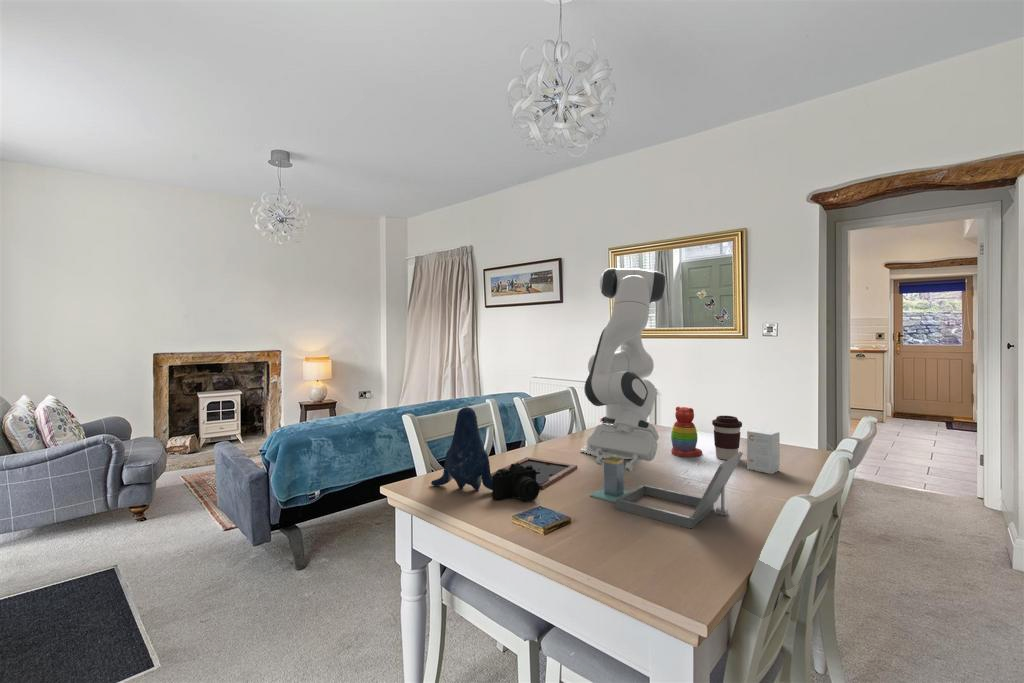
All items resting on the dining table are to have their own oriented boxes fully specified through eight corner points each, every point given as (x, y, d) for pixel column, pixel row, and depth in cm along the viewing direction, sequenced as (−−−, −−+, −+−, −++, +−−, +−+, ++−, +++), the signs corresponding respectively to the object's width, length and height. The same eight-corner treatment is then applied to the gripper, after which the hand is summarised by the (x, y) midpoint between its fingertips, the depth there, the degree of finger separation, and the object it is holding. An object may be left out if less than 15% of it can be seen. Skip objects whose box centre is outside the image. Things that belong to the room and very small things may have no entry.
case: (615, 508, 129) (615, 447, 128) (642, 492, 141) (642, 436, 140) (722, 537, 111) (722, 466, 110) (742, 516, 123) (743, 452, 123)
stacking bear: (704, 453, 183) (704, 406, 183) (693, 459, 176) (693, 410, 175) (676, 449, 191) (676, 403, 190) (665, 454, 183) (665, 407, 183)
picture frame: (542, 491, 144) (577, 470, 166) (542, 484, 144) (577, 464, 166) (487, 480, 155) (526, 462, 176) (487, 474, 155) (526, 456, 176)
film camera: (505, 508, 130) (505, 475, 130) (488, 497, 138) (488, 466, 138) (551, 497, 138) (551, 466, 137) (532, 488, 146) (532, 458, 146)
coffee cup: (746, 461, 172) (747, 419, 172) (718, 461, 172) (718, 419, 172) (734, 454, 182) (734, 414, 182) (707, 454, 182) (708, 414, 182)
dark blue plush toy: (421, 492, 143) (420, 408, 142) (438, 480, 154) (437, 402, 153) (500, 501, 135) (500, 412, 134) (513, 488, 146) (513, 406, 145)
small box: (779, 471, 161) (780, 431, 160) (771, 474, 157) (771, 434, 156) (754, 465, 167) (755, 428, 167) (746, 469, 163) (746, 430, 163)
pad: (589, 496, 139) (589, 494, 139) (607, 487, 146) (607, 485, 146) (621, 504, 132) (621, 502, 132) (638, 494, 140) (638, 493, 140)
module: (604, 494, 139) (604, 459, 139) (611, 490, 142) (611, 456, 142) (616, 497, 136) (616, 461, 136) (623, 493, 139) (623, 458, 139)
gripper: (594, 416, 151) (577, 454, 143) (657, 425, 137) (642, 467, 130) (602, 428, 154) (585, 466, 147) (664, 437, 141) (649, 479, 134)
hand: (612, 466), depth 138 cm, fingers open, 8 cm apart
